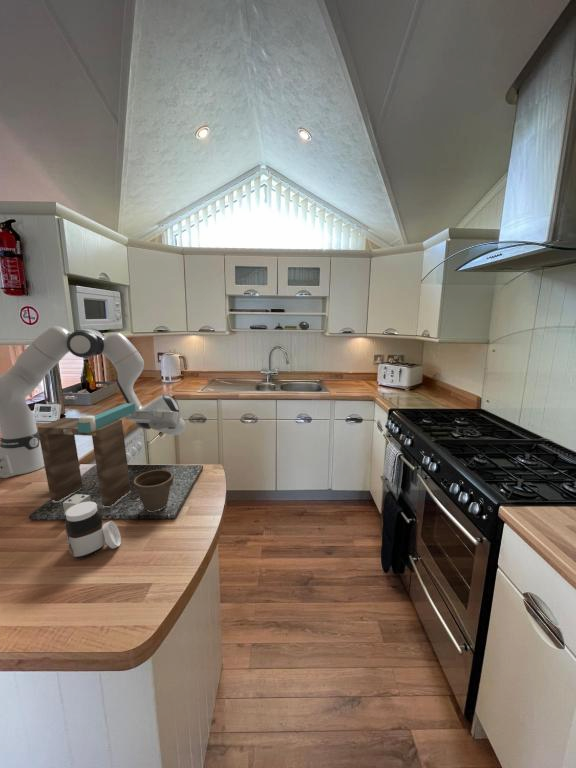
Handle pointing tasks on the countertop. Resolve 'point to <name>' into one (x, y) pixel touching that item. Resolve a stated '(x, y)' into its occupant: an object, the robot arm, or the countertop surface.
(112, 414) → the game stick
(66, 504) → the ivory die
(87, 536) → the spread jar
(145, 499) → the flower pot
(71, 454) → the walnut shelf
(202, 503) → the countertop surface
